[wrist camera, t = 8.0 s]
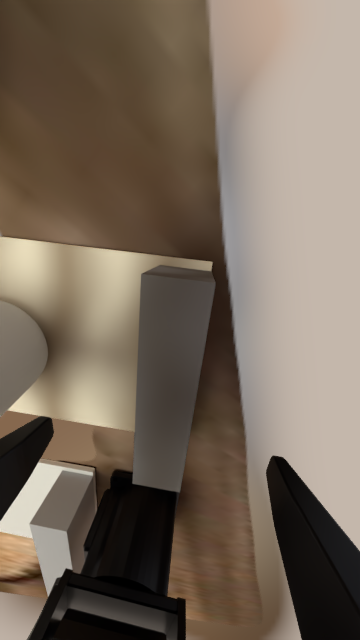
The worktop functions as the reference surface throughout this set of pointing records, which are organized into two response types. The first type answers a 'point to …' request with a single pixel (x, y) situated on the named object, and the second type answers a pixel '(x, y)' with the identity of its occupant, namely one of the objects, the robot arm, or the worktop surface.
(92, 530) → the robot arm
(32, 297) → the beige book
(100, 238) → the worktop surface
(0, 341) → the cup
